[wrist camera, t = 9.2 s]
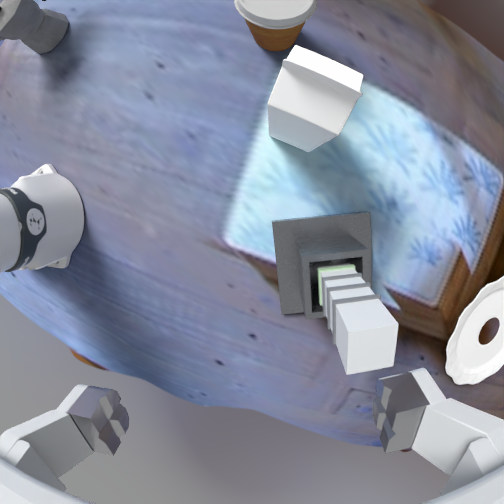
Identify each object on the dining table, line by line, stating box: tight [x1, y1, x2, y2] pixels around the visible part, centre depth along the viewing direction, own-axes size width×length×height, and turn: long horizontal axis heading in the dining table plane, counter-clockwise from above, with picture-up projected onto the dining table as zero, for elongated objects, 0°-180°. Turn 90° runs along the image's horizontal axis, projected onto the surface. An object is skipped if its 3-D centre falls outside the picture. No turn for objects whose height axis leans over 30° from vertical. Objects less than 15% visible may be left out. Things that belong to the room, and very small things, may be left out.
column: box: [318, 263, 398, 374], centre depth 28 cm, size 4×4×16 cm
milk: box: [268, 45, 363, 153], centre depth 28 cm, size 6×6×22 cm
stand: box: [272, 212, 372, 319], centre depth 38 cm, size 14×14×10 cm
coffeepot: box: [0, 0, 69, 54], centre depth 26 cm, size 15×9×18 cm, turn 145°
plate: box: [445, 276, 504, 385], centre depth 44 cm, size 25×25×2 cm
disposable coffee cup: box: [234, 0, 317, 51], centre depth 29 cm, size 10×10×12 cm
